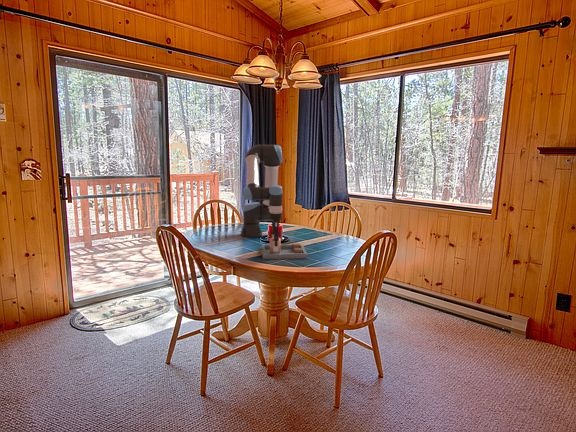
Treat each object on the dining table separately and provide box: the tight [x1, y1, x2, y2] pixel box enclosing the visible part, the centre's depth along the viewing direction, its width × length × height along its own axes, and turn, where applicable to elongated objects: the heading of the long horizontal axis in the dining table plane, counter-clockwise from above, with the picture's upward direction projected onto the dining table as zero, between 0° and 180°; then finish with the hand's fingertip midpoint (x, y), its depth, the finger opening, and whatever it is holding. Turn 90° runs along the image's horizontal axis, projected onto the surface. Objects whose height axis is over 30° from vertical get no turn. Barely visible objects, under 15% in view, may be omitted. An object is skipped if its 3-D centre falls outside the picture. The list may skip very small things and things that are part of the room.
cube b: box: [294, 248, 302, 253], centre depth 210 cm, size 4×4×4 cm
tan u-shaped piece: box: [269, 236, 282, 254], centre depth 213 cm, size 6×6×9 cm
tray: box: [261, 243, 308, 260], centre depth 214 cm, size 21×25×3 cm
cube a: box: [291, 243, 301, 252], centre depth 220 cm, size 4×4×4 cm
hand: (275, 248), depth 213 cm, fingers open, 13 cm apart
